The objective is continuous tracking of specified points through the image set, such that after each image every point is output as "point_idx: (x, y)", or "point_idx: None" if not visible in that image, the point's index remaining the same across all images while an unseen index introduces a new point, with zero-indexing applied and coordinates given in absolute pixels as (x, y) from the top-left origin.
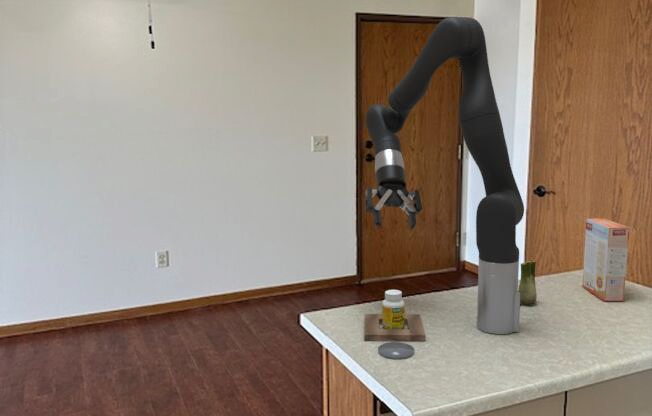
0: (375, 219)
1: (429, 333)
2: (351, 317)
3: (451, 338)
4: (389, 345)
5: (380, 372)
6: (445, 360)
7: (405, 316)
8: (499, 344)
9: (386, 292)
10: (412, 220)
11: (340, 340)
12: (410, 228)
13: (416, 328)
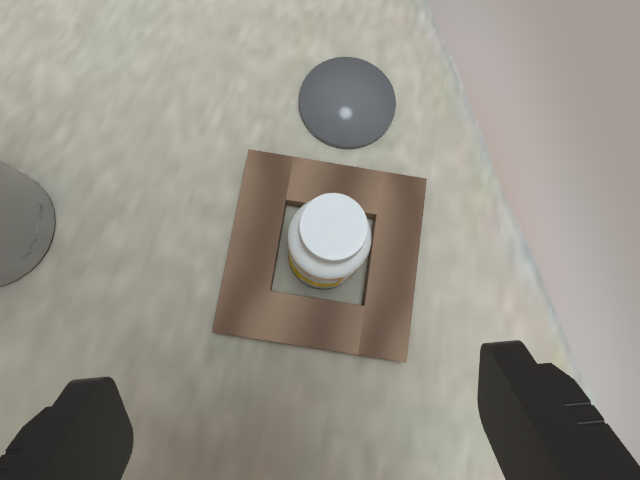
0: (581, 392)
1: (220, 213)
2: (444, 389)
3: (168, 168)
4: (360, 125)
5: (403, 6)
6: (235, 40)
7: (268, 315)
8: (51, 110)
9: (363, 225)
10: (60, 423)
11: (488, 198)
12: (125, 419)
13: (260, 204)
